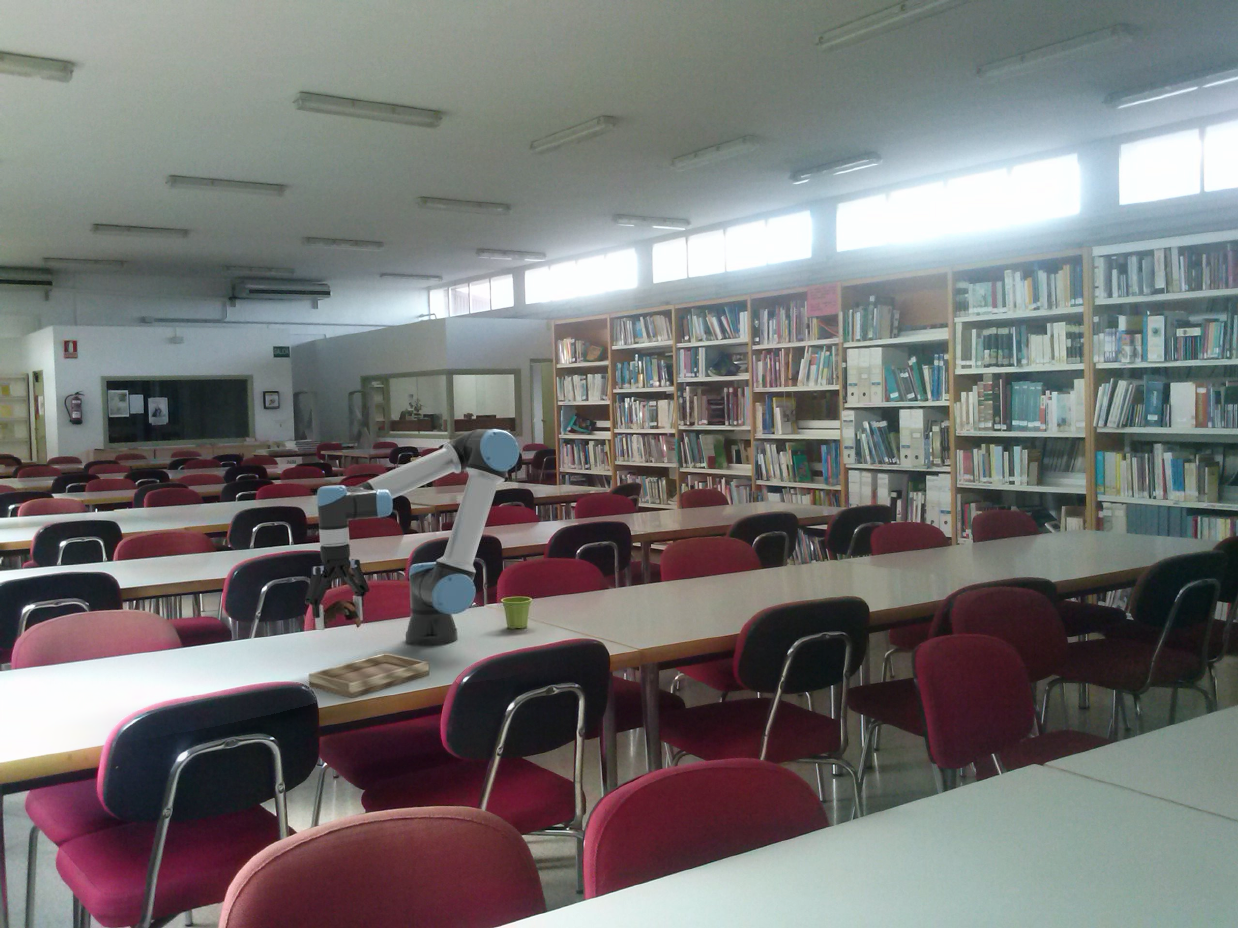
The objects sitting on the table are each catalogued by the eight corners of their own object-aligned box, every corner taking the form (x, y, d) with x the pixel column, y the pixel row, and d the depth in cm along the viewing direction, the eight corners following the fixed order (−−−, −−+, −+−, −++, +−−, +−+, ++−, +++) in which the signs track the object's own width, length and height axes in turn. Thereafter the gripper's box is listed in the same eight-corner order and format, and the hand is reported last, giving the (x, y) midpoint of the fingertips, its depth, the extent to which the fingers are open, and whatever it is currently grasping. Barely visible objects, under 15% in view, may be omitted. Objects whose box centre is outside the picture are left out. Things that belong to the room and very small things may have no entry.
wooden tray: (386, 664, 263) (386, 653, 263) (429, 674, 253) (428, 662, 253) (309, 686, 244) (308, 673, 244) (352, 697, 234) (351, 684, 234)
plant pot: (516, 622, 312) (515, 595, 311) (538, 625, 306) (538, 598, 306) (495, 628, 304) (495, 600, 304) (518, 631, 299) (517, 603, 298)
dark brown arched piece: (358, 631, 257) (340, 607, 254) (329, 647, 258) (311, 623, 256) (371, 610, 268) (354, 586, 266) (343, 625, 270) (325, 601, 268)
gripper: (362, 536, 273) (367, 614, 274) (287, 549, 254) (292, 632, 255) (379, 538, 268) (384, 617, 269) (304, 551, 249) (309, 635, 251)
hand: (339, 624), depth 262 cm, fingers closed on dark brown arched piece, 11 cm apart
